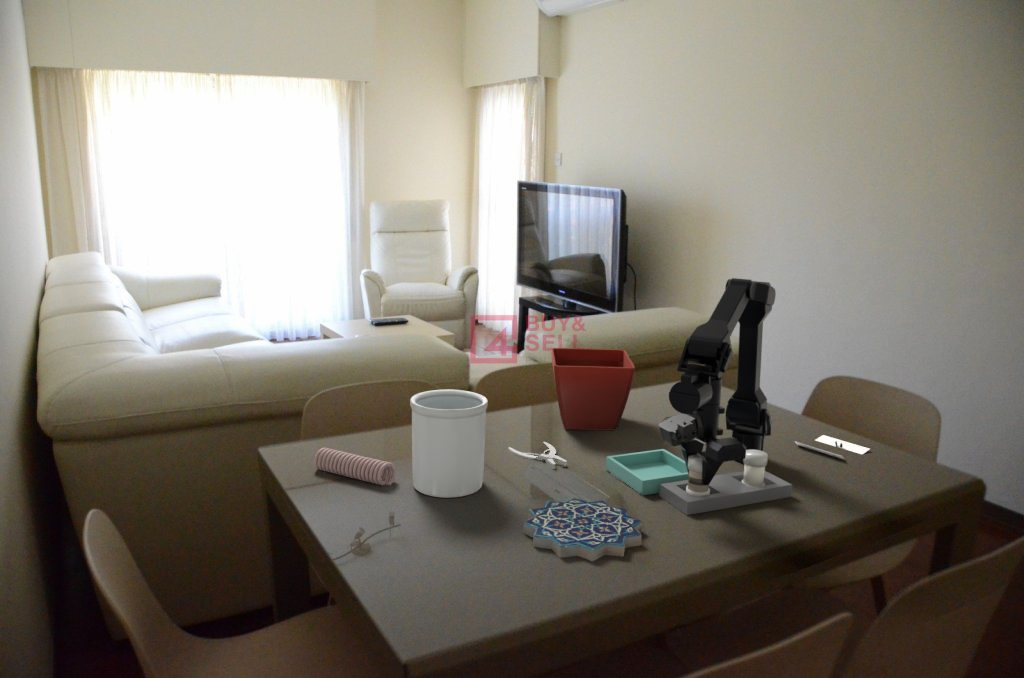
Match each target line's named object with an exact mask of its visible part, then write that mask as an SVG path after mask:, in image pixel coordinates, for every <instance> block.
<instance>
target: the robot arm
mask: <svg viewBox="0 0 1024 678" xmlns="http://www.w3.org/2000/svg"><path fill="white" fill-rule="evenodd" d="M776 294H777V293H776V289H775V288H774V287H773V286H772V285H771V282H768V281H757V280H752V279H747V278H737V277H732V278H729V279H727V280H726V283H725V289H724V292H723V293H722V295H721V298H720V299H719V301H718V302H717V304H716V306H715V308H714V310H713V312H712V313H711V315H710V317H709V319H708V321H707V322H705V323H703V324H700V325H698V326H696V328H695V329H694V330H693V331H692V333H691V334H690V336H689V337H687V339H686V341H685V344H684V346H683V349H682V353H681V356H680V360H679V363H678V366H677V372H680V373H683V374H681V375H680V381H678V382H676V383H675V384H673V385H672V386H671V388H670V390H669V392H668V400H669V401H668V402H669V403H670V405H671V407H672V408H673V409H674V410H675V411H676V412H677V413H678V414H676V415H673V416H666V417H664V418H663V420H662V421H661V422H659V423H658V424H657V426H658V429H659V433H660V435H661V436H660V437H661V440H662V442H666V443H668V444H669V445H671V446H672V447H679V448H680V449H681V453H682V455H683V460H684V461H685V463H686V467H687V471H688V474H689V469H688V456H690V455H693V454H698V455H699V456H700V457H701V459H702V479H703V485H709V484H710V482H711V480H712V479H713V477H714V476H715V475H716V474H717V472H718V471H719V469H720V468H721V466H722V465H723V464H724V462H725V463H726V462H731V461H738V462H740V463H741V464H744V463H743V459H745V458H746V450H751V449H753V450H760V451H764V443H765V438H766V437H767V436H769V437H771V436H772V430H773V420H772V417H771V414H770V410H769V408H768V398H767V396H766V395H765V393H764V391H763V390H762V388H761V371H762V369H761V368H762V349H763V331H764V329H763V327H764V321H765V319H766V318H767V317H768V315H769V314H770V313H771V312H772V309H773V305H774V304H775V300H776ZM738 324H739V332H738V333H739V334H738V354H737V355H738V357H737V376H736V377H737V380H736V381H737V383H736V390H735V391H734V392H733V394H732V395H731V396H730V398H729V399H728V401H727V405H726V408H725V407H723V406H721V398H722V387H723V386H722V384H723V374H724V373H727V369H728V367H729V365H730V361H731V360H732V357H733V353H734V351H733V350H734V349H733V348H732V342H731V337H732V334H733V332H734V330H735V328H736V326H737V325H738ZM689 362H690V363H689ZM722 414H725V426H726V429H725V430H728V431H732V432H731V437H724V438H717V436H724V429H722V428H721V427H719V425H720V424H719V423H720V415H722ZM704 446H705V451H703V450H704V449H703V448H704Z"/></svg>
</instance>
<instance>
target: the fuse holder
mask: <svg viewBox="0 0 1024 678" xmlns="http://www.w3.org/2000/svg"><path fill="white" fill-rule="evenodd" d="M743 478H744V470H742V471H737V472H729V473H723V474H717V475H716V474H715V476H714V477H713V479H712V480H711V482H710V484H709V488H710V495H704V496H698V497H693V496H692V495H690V494H689V493H687V492H686V486H687V485H688V480H683V481H677V482H670V483H664V484H660V493H658V494H659V497H660V498H661V499H662V500H664V501H665V502H667V503H668V504H670V505H671V506H673V507H674V508H675V509H677V510H679V511H680V512H682V513H683V514H685V515H686V516H689V515H694V514H701V513H706V512H713V511H718V510H722V509H728V508H729V509H730V508H734V507H739V506H740V507H741V506H746V505H753V504H757V503H763V502H768V501H774V500H775V501H776V500H780V499H786V498H791V497H792V489H793V484H792V483H791V482H790V483H789V482H788V481H786V480H784V479H782V478H780V477H778V476H777V475H774V474H772V473H770V472H768V471H766V470H765V473H764V483H765V486H758V487H752V488H751V487H749V486H747V485H746V484H744V483H742V480H743Z"/></svg>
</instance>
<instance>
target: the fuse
mask: <svg viewBox="0 0 1024 678" xmlns="http://www.w3.org/2000/svg"><path fill="white" fill-rule="evenodd" d="M768 457H769V454H768V453H767V452H766V451H764V450H763V451H760V450H753V449H751V450H746V458H745V459H743V463H742V464H744V465H743V466H744V468H743V469H744V470H743V471H744V478H743V480H742V483H744V484H746V485H747V486H749V487H751V488H752V487H758V486H765V483H764V473H765V471H766V467H767V465H768Z"/></svg>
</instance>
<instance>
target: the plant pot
mask: <svg viewBox="0 0 1024 678" xmlns="http://www.w3.org/2000/svg"><path fill="white" fill-rule="evenodd" d="M550 351H551V353H550V354H551V363H552V371H553V379H554V385H555V393H556V398H557V405H558V409H559V415H560V418H561V422H562V426H563V428H564V429H566V430H583V431H584V430H587V431H588V430H589V431H592V430H593V431H615V430H617V428H618V426H619V424H620V421H621V419H622V417H623V414H624V412H625V409H626V405H627V403H628V400H629V399H628V398H629V396H630V392H631V389H632V385H633V380H634V377H635V376H634V375H635V370H636V366H635V365H634V362H633V361H632V360H631V358H630V356H629V354H628V353H627V351H626V350H624V349H612V348H611V349H610V348H609V349H604V348H574V347H573V348H572V347H571V348H569V347H566V348H565V347H554V348H551V349H550Z"/></svg>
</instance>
